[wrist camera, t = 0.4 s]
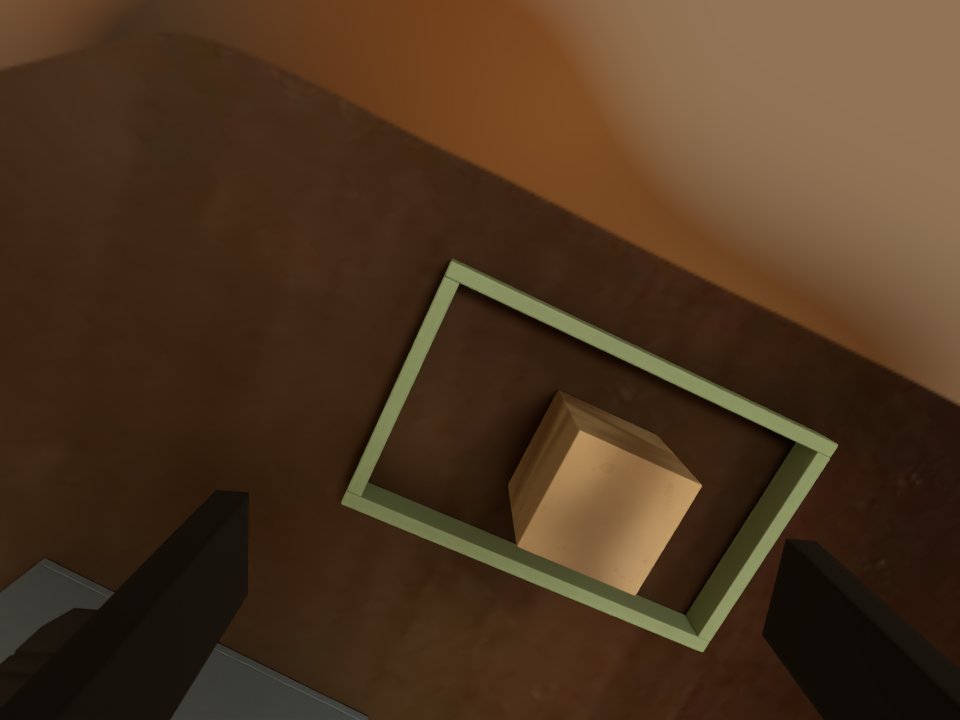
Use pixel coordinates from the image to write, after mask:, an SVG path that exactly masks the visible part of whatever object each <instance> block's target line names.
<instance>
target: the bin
mask: <svg viewBox="0 0 960 720" xmlns="http://www.w3.org/2000/svg"><path fill="white" fill-rule="evenodd" d="M114 593H115V592H113V591H111V590H109V589H107V588H105V587H103V586H101V585H99V584H97V583H95V582H93V581H91V580H89V579H87V578H85V577H82V576H80V575H78V574H76V573H74V572H72V571H70V570H68V569H66V568H64V567H62V566H60V565H58V564H56V563H54V562H52V561H50V560H48V559H46V558H44V559H43V560H42V561H40V562H39V563H38V564H37V565H35V566H34V567H33V568H31V569H30V570H29V571H28V572H26V573H25V574H24V575H22V576H21V577H20V578H19V579H17V580H16V581H15V582H13V583H12V584H11V585H9V586H8V587H7V588H6V589H4V590H3V591H2V592H0V664H1V663H2V662H3V661H4V660H5V659H6V658H8V657H9V656H10V655H14V653H15V650H16V649H17V648H18V647H19V646H21V645H22V644H23V643H24V642H25V641H26V640H27V639H28V638H29V637H30V636H31V635H33V634H34V633H35V632H36V631H37V630H38V629H39V628H40V627H41V626H43V625H45V624H47V623H48V622H50V621H52V620H54V619H56V618H57V617H59V616H61V615H63V614H64V613H66V612H68V611H70V610H71V609H73V608H84V609H97V610H98V609H99V608H100V607H101V606H102V605H103V604H104V603H105V602H106V601H107V600H108V599H109V598H110V597H111V596H112V595H113V594H114ZM171 720H368V716H365V715H363V714H361V713H359V712H357V711H355V710H353V709H351V708H349V707H347V706H345V705H343V704H341V703H339V702H337V701H335V700H333V699H331V698H329V697H327V696H325V695H323V694H321V693H319V692H317V691H315V690H313V689H311V688H308V687H306V686H304V685H302V684H300V683H298V682H296V681H294V680H292V679H290V678H288V677H286V676H284V675H282V674H280V673H278V672H276V671H274V670H272V669H270V668H268V667H266V666H264V665H262V664H260V663H258V662H256V661H254V660H251V659H249V658H247V657H245V656H243V655H241V654H239V653H237V652H235V651H233V650H231V649H229V648H227V647H225V646H223V645H221V644H219V643H217V645H216V647H215V648H214V650H213V651H212V653H211V655H210V656H209V658H208V660H207V661H206V663H205V664H204V666H203V668H202V669H201V671H200V673H199V674H198V676H197V677H196V679H195V681H194V682H193V684H192V686H191V687H190V689H189V690H188V692H187V694H186V695H185V697H184V699H183V700H182V702H181V703H180V705H179V707H178V708H177V710H176V712H175V713H174V715H173V716H172V718H171Z"/></svg>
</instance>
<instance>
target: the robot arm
mask: <svg viewBox="0 0 960 720" xmlns="http://www.w3.org/2000/svg"><path fill="white" fill-rule="evenodd" d="M248 514H249V493H246V492H234V491H223V490H216V491H215V492H214V493H213V494H212V495H211V496H210V497H209V498H208V499H207V500H206V501H205V502H204V503H203V504H202V505H201V506H200V507H199V508H198V509H197V510H196V511H195V512H194V513H193V514H192V515H191V516H190V517H189V518H188V519H187V520H186V521H185V522H184V523H183V524H182V525H181V526H180V527H179V528H178V529H177V530H176V531H175V532H174V533H173V534H172V535H171V536H170V537H169V538H168V539H167V540H166V541H165V542H164V543H163V544H162V545H161V546H160V547H159V548H158V549H157V550H156V551H155V552H154V553H153V554H152V555H151V556H150V557H149V558H148V559H147V560H146V561H145V562H144V563H143V564H142V565H141V566H140V567H139V568H138V569H137V570H136V571H135V573H134V574H133V575H132V576H131V577H130V578H129V579H128V580H127V581H126V582H125V583H124V584H123V585H122V586H121V587H120V588H119V589H118V590H117V591H116V592H115V593H114V594H113V595H112V596H111V597H110V598H109V599H108V600H107V601H106V602H105V603H104V604H103V605H102V606H101V607H100V608H99V609H98V610H97V609H84V608H73V609H71V610H70V611H68V612H66V613H64V614H63V615H61V616H59V617H57V618H56V619H54V620H52V621H50V622H48V623H47V624H45V625H43V626H41V627H40V628H39V629H38V630H37V631H36V632H35V633H34V634H33V635H31V636H30V637H29V638H28V639H27V640H26V641H25V642H24V643H23V644H22V645H21V646H19V647H18V648H17V649H16V650H15V653H14V655H10V656H9V657H8V658H6V659H5V660H4V661H3V662H2V663H1V664H0V720H171V718H172V716H173V715H174V713H175V712H176V710H177V708H178V707H179V705H180V703H181V702H182V700H183V699H184V697H185V695H186V694H187V692H188V690H189V689H190V687H191V686H192V684H193V682H194V681H195V679H196V677H197V676H198V674H199V673H200V671H201V669H202V668H203V666H204V664H205V663H206V661H207V660H208V658H209V656H210V655H211V653H212V651H213V650H214V648H215V647H216V645H217V643H218V642H219V640H220V638H221V637H222V635H223V634H224V632H225V630H226V629H227V627H228V625H229V624H230V622H231V621H232V619H233V617H234V616H235V614H236V612H237V611H238V609H239V608H240V606H241V604H242V603H243V601H244V599H245V598H246V596H247V595H248ZM762 635H763V637H764V638H765V639H766V641H767V642H768V644H769V645H770V646H771V648H772V649H773V650H774V652H775V653H776V655H777V656H778V657H779V659H780V660H781V661H782V663H783V664H784V666H785V667H786V668H787V670H788V671H789V673H790V674H791V675H792V677H793V678H794V679H795V681H796V682H797V684H798V685H799V686H800V688H801V689H802V690H803V692H804V693H805V695H806V696H807V697H808V699H809V700H810V701H811V703H812V704H813V706H814V707H815V708H816V710H817V711H818V713H819V714H820V715H821V717H822V718H823V719H824V720H960V669H959V668H958V667H956V666H955V665H954V664H953V663H952V662H951V661H950V660H949V659H947V658H946V657H945V656H944V655H943V654H942V653H941V652H940V651H939V650H937V649H936V648H935V647H934V646H933V645H932V644H931V643H930V642H928V641H927V640H926V639H925V638H924V637H923V636H922V635H921V634H919V633H918V632H917V631H916V630H915V629H914V628H913V627H912V626H911V625H909V624H908V623H907V622H906V621H905V620H904V619H903V618H902V617H900V616H899V615H898V614H897V613H896V612H895V611H894V610H893V609H891V608H890V607H889V606H888V605H887V604H886V603H885V602H884V601H883V600H881V599H880V598H879V597H878V596H877V595H876V594H875V593H874V592H872V591H871V590H870V589H869V588H868V587H867V586H866V585H865V584H863V583H862V582H861V581H860V580H859V579H858V578H857V577H856V576H855V575H853V574H852V573H851V572H850V571H849V570H848V569H847V568H846V567H844V566H843V565H842V564H841V563H840V562H839V561H838V560H837V559H835V558H834V557H833V556H832V555H831V554H830V553H829V552H828V551H827V550H825V549H824V548H823V547H822V546H821V545H820V544H819V543H818V542H816V541H806V540H795V539H786V541H785V545H784V549H783V553H782V557H781V561H780V565H779V569H778V573H777V577H776V581H775V585H774V589H773V593H772V597H771V601H770V605H769V609H768V613H767V617H766V621H765V625H764V629H763V633H762Z"/></svg>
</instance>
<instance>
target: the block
mask: <svg viewBox="0 0 960 720" xmlns="http://www.w3.org/2000/svg"><path fill="white" fill-rule="evenodd" d="M701 487H702V485H701V484H700V482H699V481H698V480H697V479H696V478H695V477H694V476H693V475H692V474H691V473H690V471H689V470H688V469H687V468H686V467H685V466H684V465H683V464H682V463H681V461H680V460H679V459H678V458H677V457H676V456H675V455H674V454H673V453H672V451H671V450H670V449H669V448H668V447H667V446H666V445H665V444H664V443H663V441H662V440H661V439H660V438H659V437H658V436H657V435H656V434H653V433H651V432H649V431H647V430H645V429H643V428H640V427H638V426H636V425H634V424H632V423H629V422H627V421H625V420H623V419H621V418H619V417H616V416H614V415H612V414H610V413H608V412H605V411H603V410H601V409H599V408H597V407H595V406H592V405H590V404H588V403H586V402H584V401H581V400H579V399H577V398H575V397H573V396H571V395H568V394H566V393H564V392H562V391H560V390H558V391H557V392H556V394H555V396H554V398H553V400H552V402H551V404H550V406H549V408H548V410H547V411H546V413H545V415H544V417H543V419H542V421H541V423H540V425H539V427H538V429H537V431H536V432H535V434H534V436H533V438H532V440H531V442H530V444H529V446H528V448H527V450H526V451H525V453H524V455H523V457H522V459H521V461H520V463H519V465H518V467H517V469H516V471H515V472H514V474H513V476H512V478H511V480H510V482H509V484H508V489H509V496H510V503H511V510H512V517H513V524H514V530H515V537H516V544H517V547H519V548H522V549H524V550H527V551H529V552H531V553H534V554H536V555H538V556H541V557H543V558H546V559H548V560H550V561H553V562H555V563H558V564H560V565H562V566H565V567H567V568H570V569H572V570H574V571H577V572H579V573H582V574H584V575H586V576H589V577H591V578H594V579H596V580H598V581H601V582H603V583H605V584H608V585H610V586H613V587H615V588H617V589H620V590H622V591H625V592H627V593H629V594H632V595H634V596H635V595H636V594H637V592H638V590H639V589H640V587H641V585H642V584H643V582H644V581H645V579H646V577H647V576H648V574H649V572H650V571H651V569H652V567H653V566H654V564H655V562H656V561H657V559H658V558H659V556H660V554H661V553H662V551H663V549H664V548H665V546H666V544H667V543H668V541H669V540H670V538H671V536H672V535H673V533H674V531H675V530H676V528H677V526H678V525H679V523H680V521H681V520H682V518H683V517H684V515H685V513H686V512H687V510H688V508H689V507H690V505H691V503H692V502H693V500H694V498H695V497H696V495H697V494H698V492H699V490H700V489H701Z"/></svg>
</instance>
